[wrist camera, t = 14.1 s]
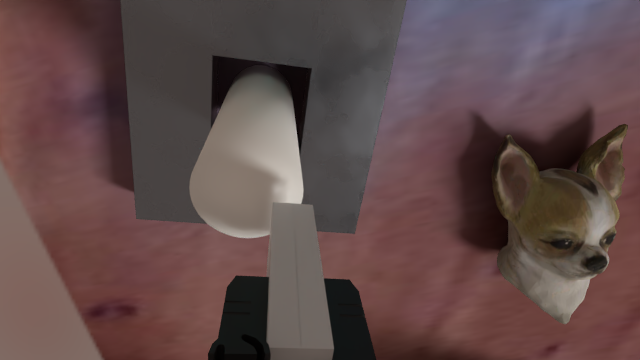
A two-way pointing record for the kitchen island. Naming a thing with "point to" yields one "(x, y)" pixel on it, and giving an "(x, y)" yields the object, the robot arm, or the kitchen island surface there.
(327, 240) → the kitchen island surface
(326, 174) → the block
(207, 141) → the white tapered capsule
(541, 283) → the ceramic sculpture
